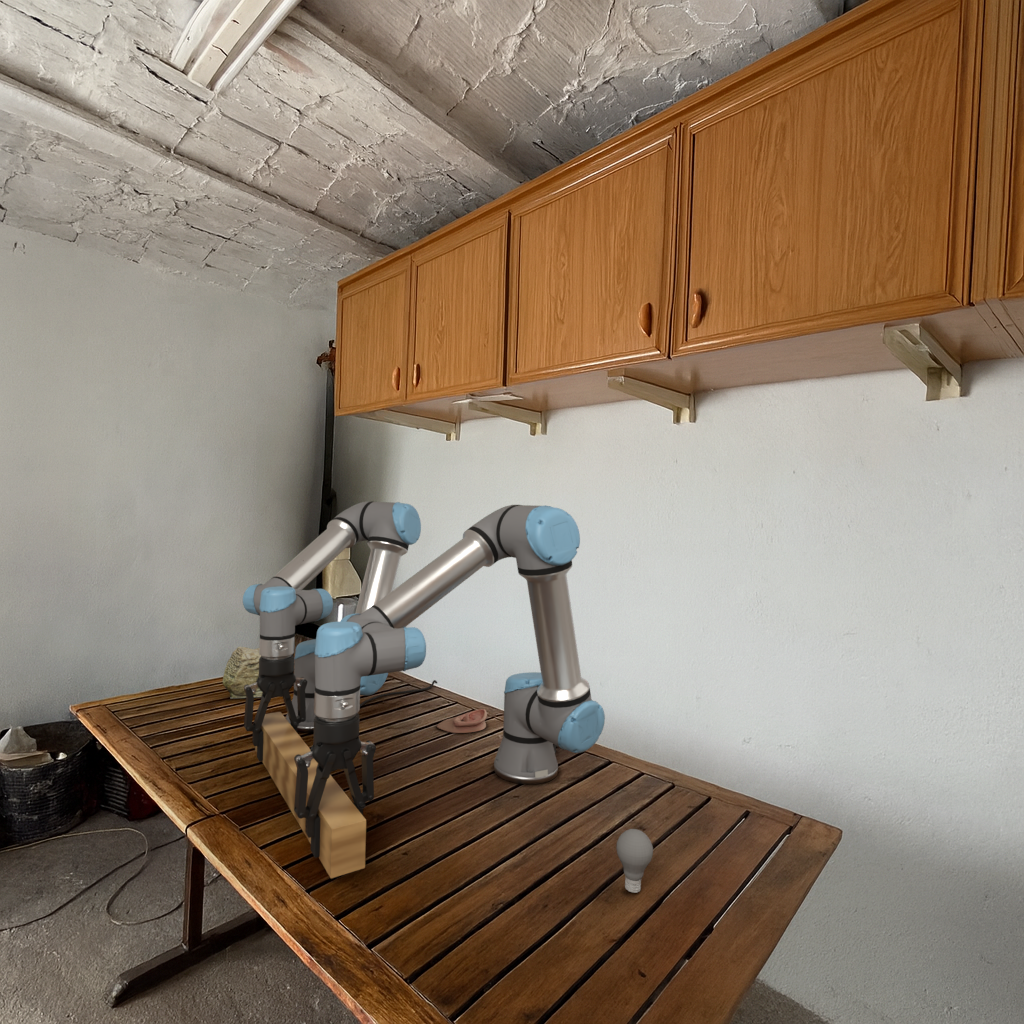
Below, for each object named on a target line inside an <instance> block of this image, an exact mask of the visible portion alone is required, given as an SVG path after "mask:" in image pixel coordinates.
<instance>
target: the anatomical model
mask: <svg viewBox="0 0 1024 1024" xmlns="http://www.w3.org/2000/svg"><path fill="white" fill-rule="evenodd" d="M487 718H488V713H487V710H486V709H485V708H479V709H475V710H472V711H468V712H465V713H463V714H460V715H457V716H454V717H451V718H447V719H445V720H442V721H441V722H439V723H437V725H436V727H437V729H439V730H442V731H445V732H448V733H452V734H453V733H454V734H465V733H467V734H468V733H474V732H479V731H482V730H485V728H487V723H486V720H487Z"/></svg>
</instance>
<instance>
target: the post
mask: <svg viewBox="0 0 1024 1024" xmlns="http://www.w3.org/2000/svg"><path fill="white" fill-rule="evenodd" d="M254 716H255V717H256V715H254ZM255 717H254V718H255ZM261 729H262V731H263V732H264V734H263V761H261V762H262V765H264V767H265V769H266V771H267V772H268V774H269V776H270V778H271V780H272V781H273V783H274V784H275V786H276V788H277V789H278V791H279V793H280V794H281V796H282V798H283V800H284V801H285V803H286V805H287V807H288V809H289V810H290V812H291V813H292V815H293V817H294V818H295V820H296V822H297V823H298V825H299V827H300V829H301V830H302V833H303V834H304V835H305V837H306V839H307V841H308V842H309V844H310V845H311V837H310V838H309V837H308V836H307V834H306V832H305V821H306V818H302V819H300V818H298V816H297V814H296V813H295V811H294V804H295V790H296V777H297V767H296V763H295V760H294V757H295V756H296V755H298V754H300V755H301V756H302V755H304V754H306V753H308V752H310V750H311V747H309V746H308V744H307V743H306V742H305V741H304V740H303V738H302V737H301V736H300V734H298V733H299V732H298V731H297V732H296V731H295V729H294V728H293V727H292V726H291V724H290V723H289V722H288V721H287V719H286V716H285V715H284V714H283V713H282V711H275V712H270V713H265V717H264V720H263V723H262V726H261ZM254 750H255V752H256V753H257V746H254ZM317 765H318V763H317V762H316V760H315V759H314V758H313V759H312V760H311V764H310V767H309V768H307V769H308V785H307V798H306V805H307V802H308V798H309V795H310V792H311V789H312V785H313V782H314V779H315V776H316V769H317ZM352 802H353V800H351V798H350V797H348V795H347V794H346V793H345V791H344V790H343V789H342V787H341V786H340V785H339V784H338V782H337V781H336V780H335V778H334V777H333V775H331V774H330V776H329V778H328V779H327V782H326V785H325V788H324V792H323V795H322V798H321V801H320V805H319V808H318V811H317V814H318V815H319V817H320V818H321V819H320V857H318V859H319V861H320V863H321V865H322V866H323V868H324V870H325V871H326V874H327V875H328V876H329V878H330V879H334V878H338V877H340V876H344V875H347V874H350V873H354V872H357V871H360V870H363V869H365V868H366V848H367V845H366V844H367V843H366V842H367V819H366V818H365V816H364V814H363V815H362V814H361V813H360V812H359V810H358V809H357V808H356V806H355V805H354V804H353V803H354V802H353V803H352Z"/></svg>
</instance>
